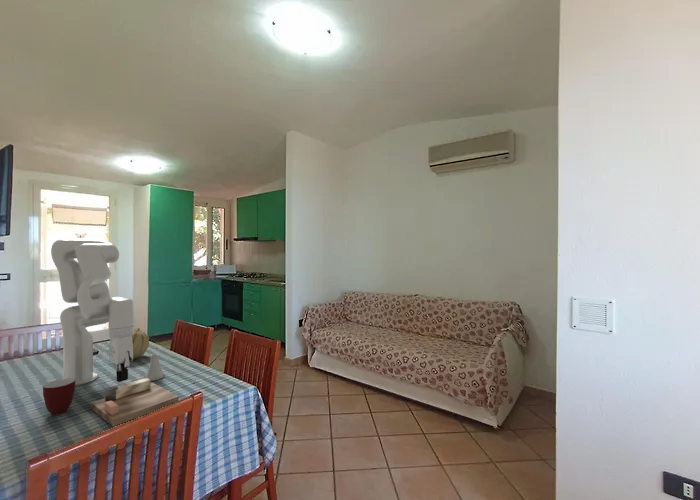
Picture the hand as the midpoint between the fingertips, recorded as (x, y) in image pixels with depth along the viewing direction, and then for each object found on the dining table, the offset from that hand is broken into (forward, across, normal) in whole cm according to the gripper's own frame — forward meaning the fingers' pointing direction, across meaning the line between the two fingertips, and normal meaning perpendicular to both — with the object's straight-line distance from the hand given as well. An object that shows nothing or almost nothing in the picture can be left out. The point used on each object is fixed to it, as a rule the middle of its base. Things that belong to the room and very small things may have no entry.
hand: (122, 380), depth 121 cm
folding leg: (+4, +5, 0) cm, 6 cm away
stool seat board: (+6, +12, 0) cm, 14 cm away
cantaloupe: (+5, -46, +20) cm, 50 cm away
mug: (+6, -4, -17) cm, 19 cm away
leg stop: (+4, +15, -8) cm, 18 cm away
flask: (+6, -9, +15) cm, 18 cm away
